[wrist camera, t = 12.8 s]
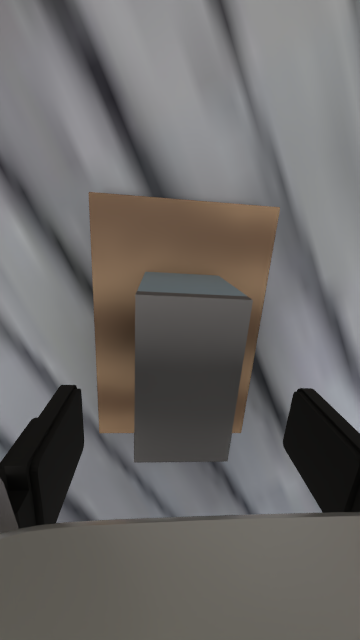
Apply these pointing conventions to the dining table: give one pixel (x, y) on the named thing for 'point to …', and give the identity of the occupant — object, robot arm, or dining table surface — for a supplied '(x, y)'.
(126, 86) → the dining table surface
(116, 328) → the stand
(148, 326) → the block
